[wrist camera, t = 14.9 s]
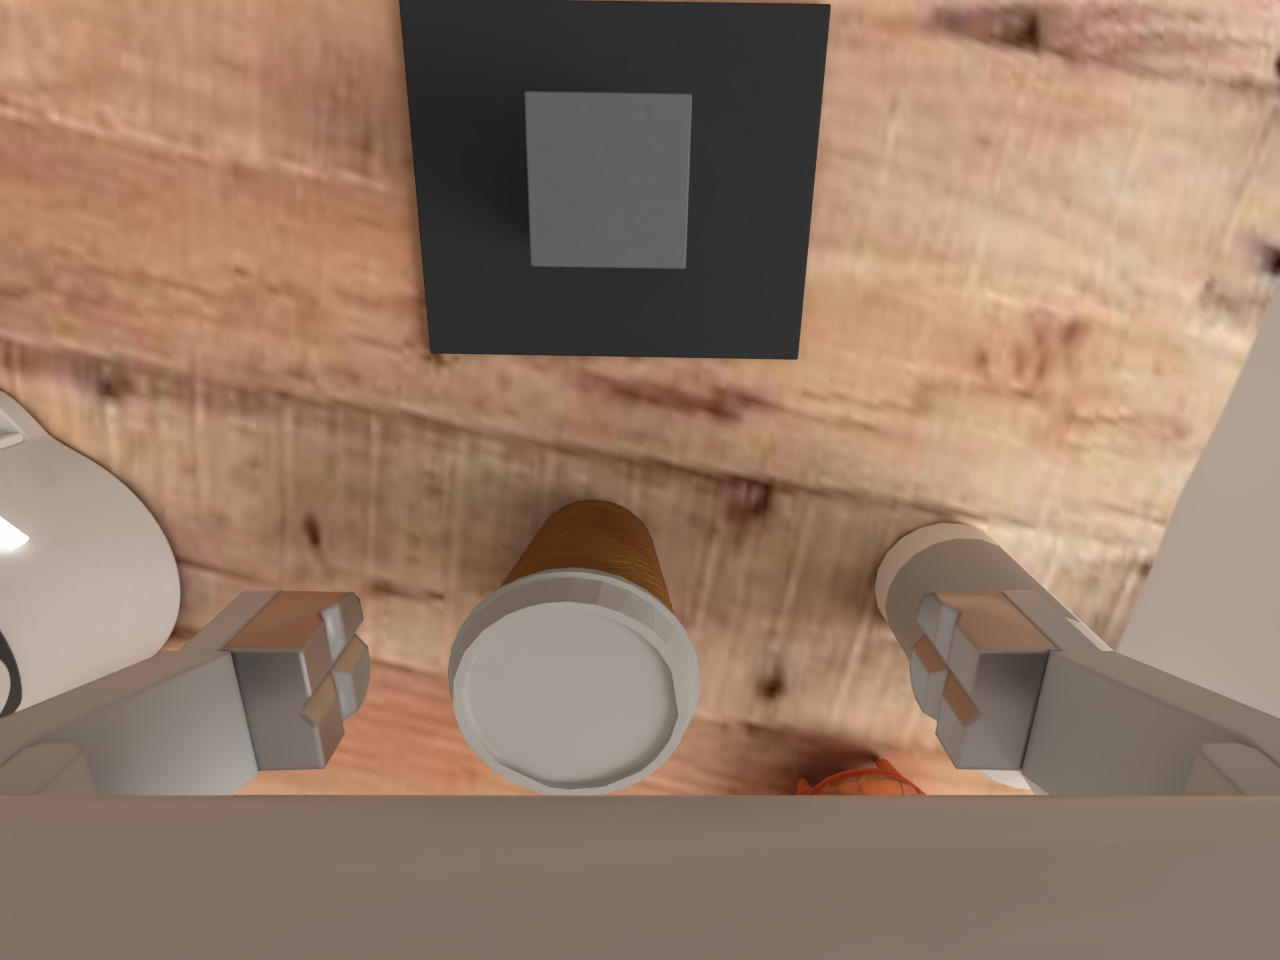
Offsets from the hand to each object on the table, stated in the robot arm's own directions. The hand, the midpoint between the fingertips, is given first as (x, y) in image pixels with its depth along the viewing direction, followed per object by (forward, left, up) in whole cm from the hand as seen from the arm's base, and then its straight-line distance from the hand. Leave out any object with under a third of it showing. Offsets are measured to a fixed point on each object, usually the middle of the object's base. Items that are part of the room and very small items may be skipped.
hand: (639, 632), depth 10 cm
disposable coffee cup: (-2, -11, -24) cm, 27 cm away
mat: (-1, +7, -24) cm, 25 cm away
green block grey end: (-1, +7, -24) cm, 25 cm away
